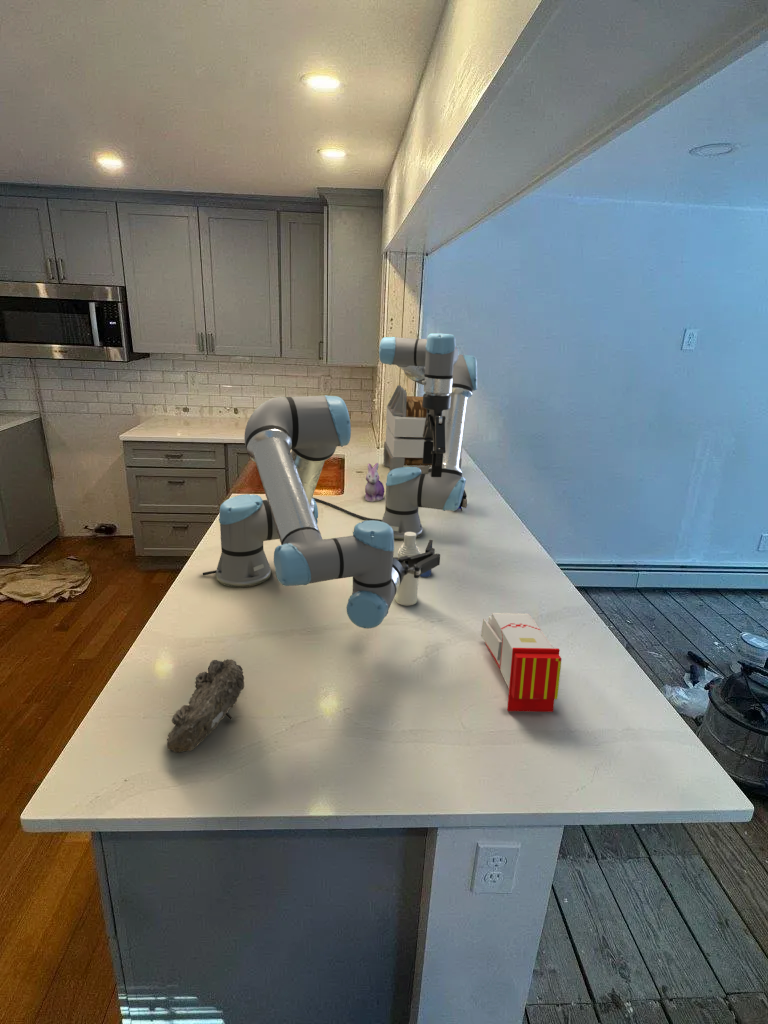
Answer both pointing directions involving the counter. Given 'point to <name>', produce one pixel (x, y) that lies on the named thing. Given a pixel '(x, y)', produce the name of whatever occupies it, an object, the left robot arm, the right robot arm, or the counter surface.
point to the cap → (426, 574)
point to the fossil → (206, 705)
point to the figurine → (373, 485)
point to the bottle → (409, 583)
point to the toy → (523, 661)
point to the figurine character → (463, 501)
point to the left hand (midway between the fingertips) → (403, 541)
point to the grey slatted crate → (405, 431)
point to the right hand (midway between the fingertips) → (431, 470)
